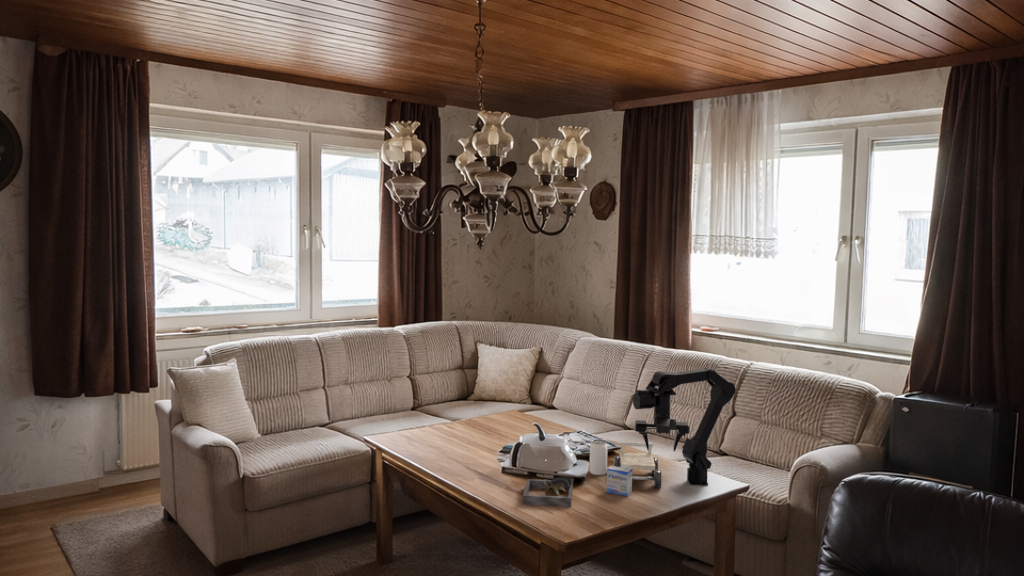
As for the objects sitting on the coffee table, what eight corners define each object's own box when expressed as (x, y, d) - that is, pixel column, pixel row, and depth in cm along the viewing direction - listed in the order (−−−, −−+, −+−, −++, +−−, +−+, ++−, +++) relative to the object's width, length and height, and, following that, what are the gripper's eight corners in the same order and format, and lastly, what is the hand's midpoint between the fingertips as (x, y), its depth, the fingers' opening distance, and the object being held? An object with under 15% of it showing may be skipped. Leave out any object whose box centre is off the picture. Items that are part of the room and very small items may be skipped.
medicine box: (606, 493, 248) (606, 468, 247) (610, 488, 252) (610, 464, 251) (628, 496, 244) (628, 472, 244) (631, 492, 248) (632, 468, 248)
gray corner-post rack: (656, 471, 271) (657, 440, 270) (661, 490, 251) (662, 457, 250) (613, 469, 273) (614, 439, 272) (615, 487, 253) (616, 455, 252)
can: (607, 471, 270) (608, 440, 270) (605, 476, 264) (606, 445, 263) (591, 469, 272) (591, 438, 271) (588, 474, 266) (588, 443, 265)
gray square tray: (572, 489, 250) (572, 481, 250) (571, 507, 235) (571, 498, 234) (527, 487, 252) (527, 479, 252) (522, 504, 236) (522, 495, 236)
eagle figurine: (552, 497, 240) (575, 489, 243) (544, 477, 242) (567, 469, 246) (546, 502, 246) (568, 494, 250) (538, 482, 249) (560, 474, 252)
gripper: (636, 412, 246) (635, 456, 247) (692, 414, 244) (690, 458, 245) (635, 404, 257) (634, 446, 258) (687, 406, 255) (686, 449, 256)
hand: (661, 450), depth 254 cm, fingers open, 9 cm apart
